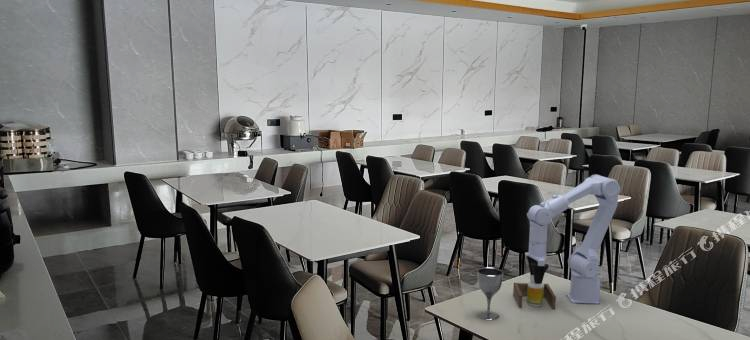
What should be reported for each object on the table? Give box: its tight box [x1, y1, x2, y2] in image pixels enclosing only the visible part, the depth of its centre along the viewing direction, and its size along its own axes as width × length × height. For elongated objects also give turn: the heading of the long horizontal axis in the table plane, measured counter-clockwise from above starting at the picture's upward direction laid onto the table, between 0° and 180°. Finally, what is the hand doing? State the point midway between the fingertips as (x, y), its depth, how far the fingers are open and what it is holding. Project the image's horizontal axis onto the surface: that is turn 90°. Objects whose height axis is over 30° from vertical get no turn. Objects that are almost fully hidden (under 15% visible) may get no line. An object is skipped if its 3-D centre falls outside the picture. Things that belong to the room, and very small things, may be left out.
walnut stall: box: [512, 282, 557, 310], centre depth 200 cm, size 12×12×4 cm
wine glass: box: [477, 266, 504, 321], centre depth 188 cm, size 8×8×15 cm
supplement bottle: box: [526, 275, 545, 307], centre depth 198 cm, size 5×5×10 cm
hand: (535, 279), depth 198 cm, fingers open, 7 cm apart
